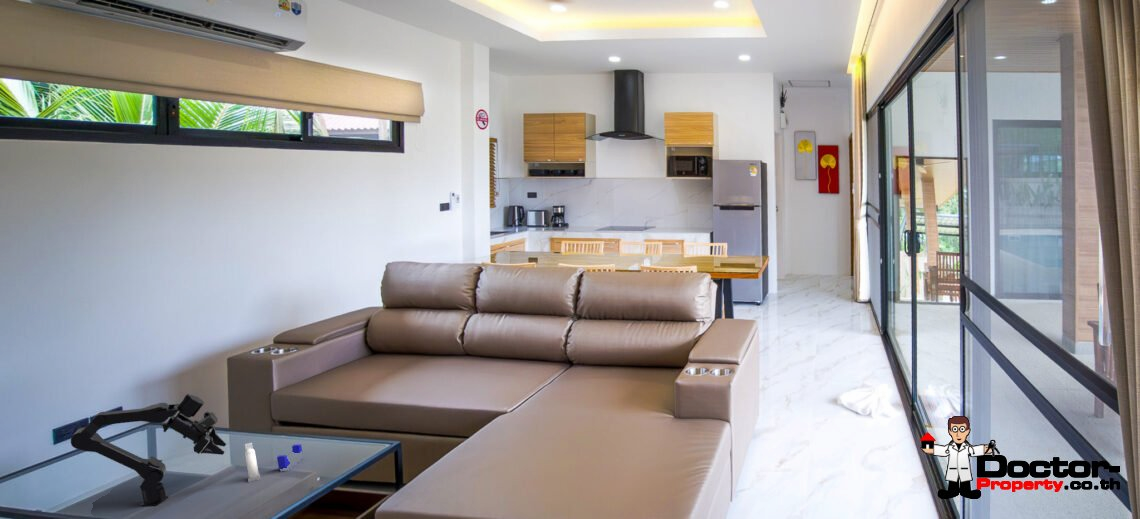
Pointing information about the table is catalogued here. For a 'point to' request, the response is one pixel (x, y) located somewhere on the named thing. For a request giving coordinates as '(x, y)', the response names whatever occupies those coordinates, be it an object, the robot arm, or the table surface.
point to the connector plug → (251, 463)
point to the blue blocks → (283, 459)
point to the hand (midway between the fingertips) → (224, 449)
